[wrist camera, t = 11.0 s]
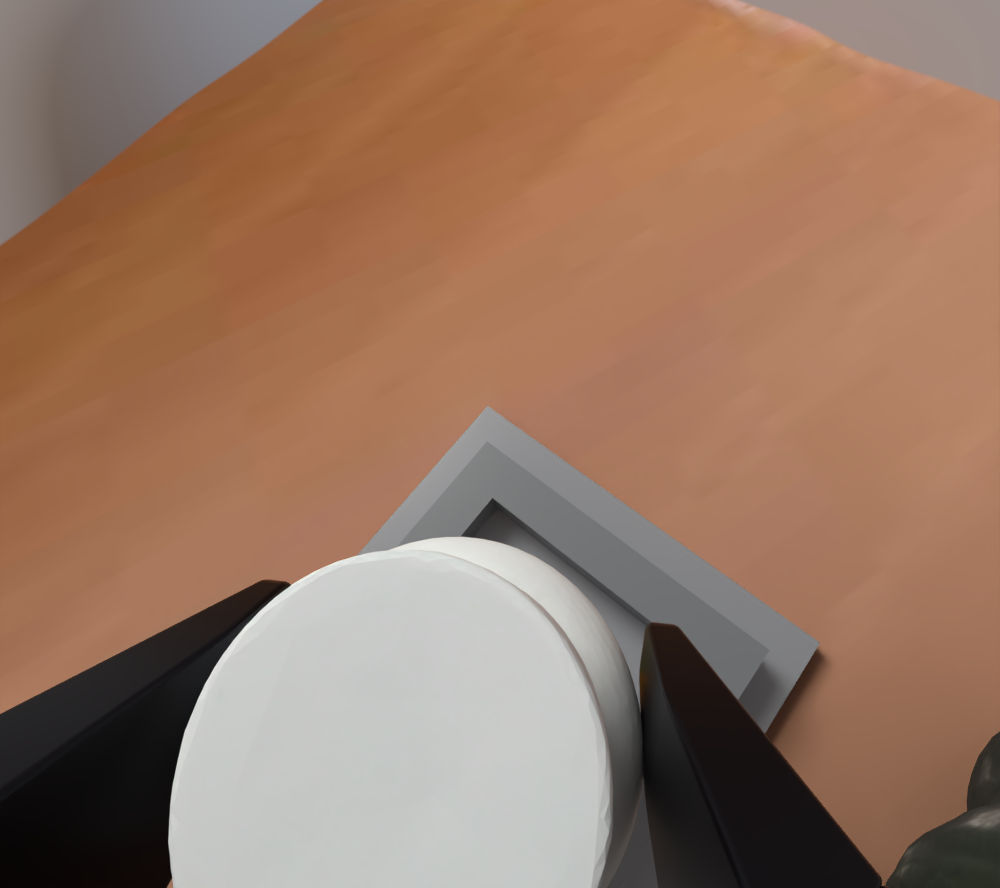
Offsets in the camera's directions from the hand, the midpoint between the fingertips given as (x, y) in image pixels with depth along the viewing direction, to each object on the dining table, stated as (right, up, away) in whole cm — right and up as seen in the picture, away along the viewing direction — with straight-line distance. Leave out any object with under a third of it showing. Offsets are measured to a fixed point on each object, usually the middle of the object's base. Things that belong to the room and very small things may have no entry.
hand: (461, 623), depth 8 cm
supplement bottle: (+1, -4, +6) cm, 7 cm away
